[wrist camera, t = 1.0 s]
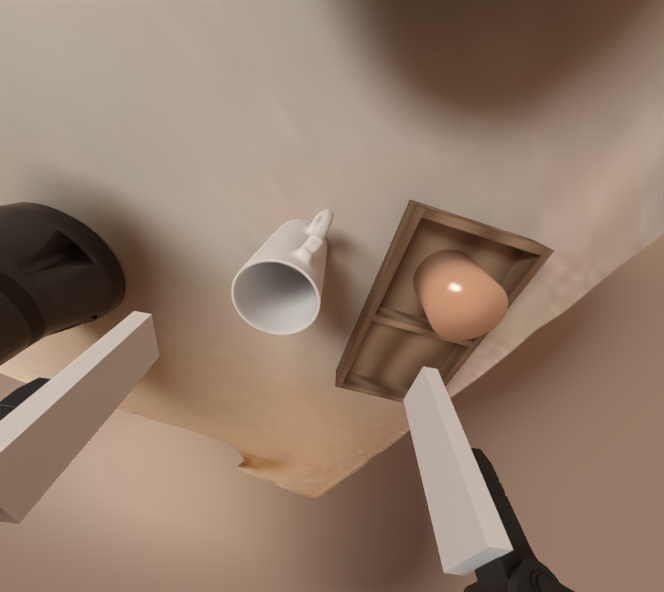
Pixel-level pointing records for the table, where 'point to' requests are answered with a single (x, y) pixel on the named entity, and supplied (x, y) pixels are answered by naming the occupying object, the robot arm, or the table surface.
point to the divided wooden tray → (406, 310)
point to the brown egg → (458, 295)
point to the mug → (285, 278)
